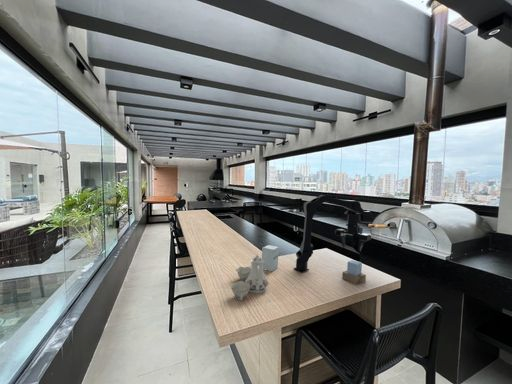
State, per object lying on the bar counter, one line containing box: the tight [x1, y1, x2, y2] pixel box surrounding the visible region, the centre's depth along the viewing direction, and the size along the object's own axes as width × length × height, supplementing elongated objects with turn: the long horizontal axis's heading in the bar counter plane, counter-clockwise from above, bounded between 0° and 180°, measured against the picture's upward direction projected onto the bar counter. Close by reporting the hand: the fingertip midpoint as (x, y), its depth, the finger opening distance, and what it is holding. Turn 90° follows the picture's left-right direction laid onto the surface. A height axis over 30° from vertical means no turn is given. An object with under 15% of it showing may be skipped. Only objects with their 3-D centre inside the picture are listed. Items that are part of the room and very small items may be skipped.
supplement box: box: [261, 244, 279, 272], centre depth 125 cm, size 7×7×13 cm
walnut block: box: [341, 270, 367, 286], centre depth 114 cm, size 8×8×4 cm
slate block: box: [346, 259, 363, 276], centre depth 113 cm, size 5×5×6 cm
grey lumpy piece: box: [230, 254, 269, 302], centre depth 100 cm, size 28×17×17 cm, turn 3°
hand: (351, 249), depth 125 cm, fingers open, 9 cm apart
